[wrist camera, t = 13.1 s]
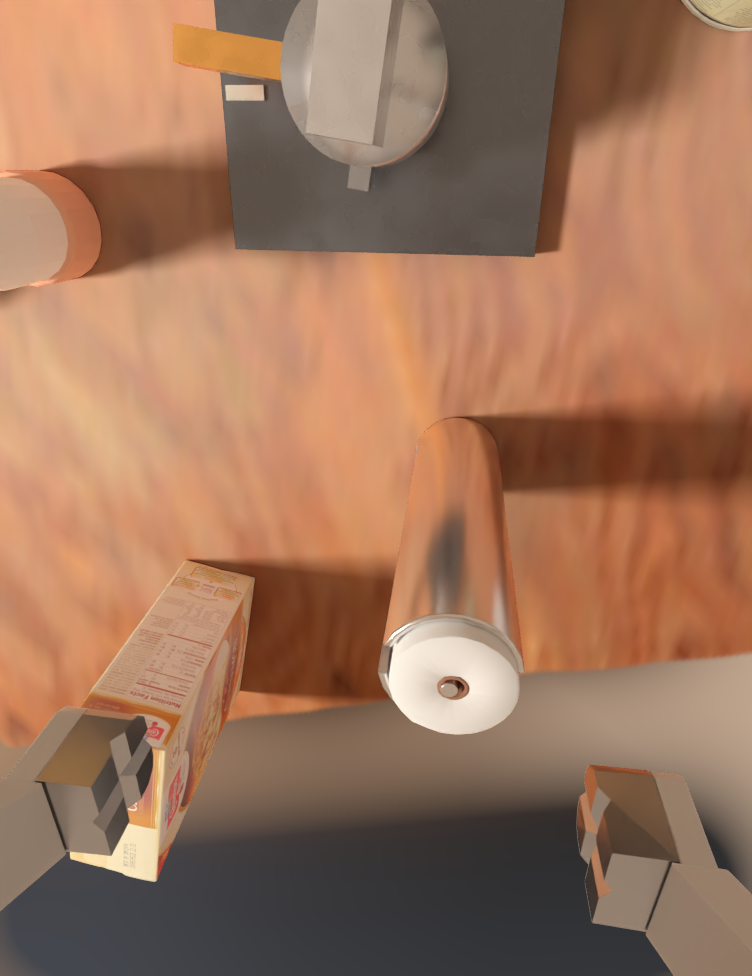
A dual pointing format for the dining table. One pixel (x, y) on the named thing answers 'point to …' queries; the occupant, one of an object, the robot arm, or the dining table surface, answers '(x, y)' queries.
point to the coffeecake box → (175, 701)
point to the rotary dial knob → (344, 75)
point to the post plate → (424, 175)
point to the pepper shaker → (44, 230)
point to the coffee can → (723, 13)
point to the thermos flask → (454, 589)
